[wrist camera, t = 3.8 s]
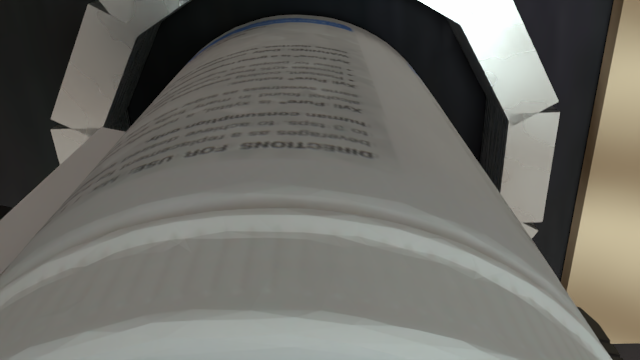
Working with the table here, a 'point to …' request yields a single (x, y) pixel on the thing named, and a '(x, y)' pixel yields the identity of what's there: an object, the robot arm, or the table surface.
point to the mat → (611, 190)
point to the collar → (455, 3)
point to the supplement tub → (289, 224)
